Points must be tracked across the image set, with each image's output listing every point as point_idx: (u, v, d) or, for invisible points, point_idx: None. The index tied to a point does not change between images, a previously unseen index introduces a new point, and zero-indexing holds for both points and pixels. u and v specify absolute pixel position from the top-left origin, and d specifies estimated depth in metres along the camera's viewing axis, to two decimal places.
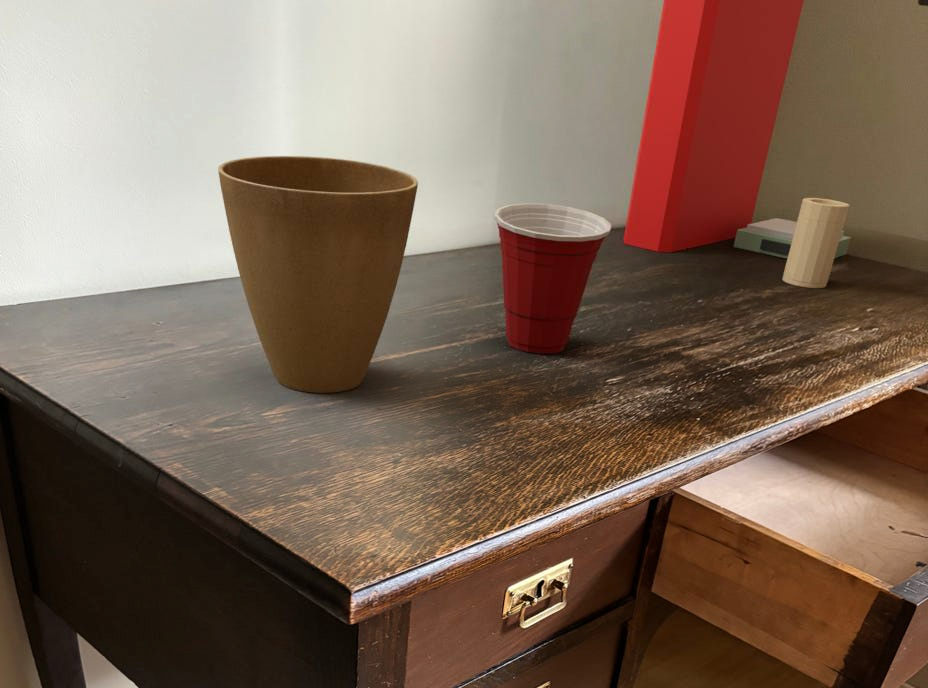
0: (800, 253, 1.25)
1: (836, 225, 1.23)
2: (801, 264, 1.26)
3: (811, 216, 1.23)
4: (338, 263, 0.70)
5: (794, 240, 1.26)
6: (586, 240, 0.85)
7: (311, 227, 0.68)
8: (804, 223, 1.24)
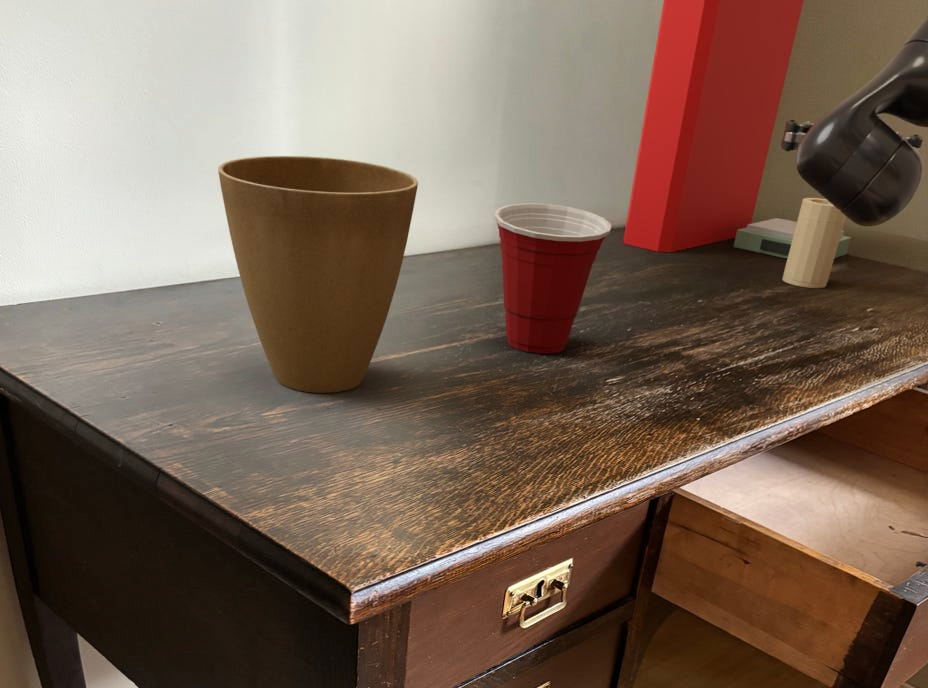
0: (800, 253, 1.25)
1: (836, 225, 1.23)
2: (801, 264, 1.26)
3: (811, 216, 1.23)
4: (338, 263, 0.70)
5: (794, 240, 1.26)
6: (586, 240, 0.85)
7: (311, 227, 0.68)
8: (804, 223, 1.24)
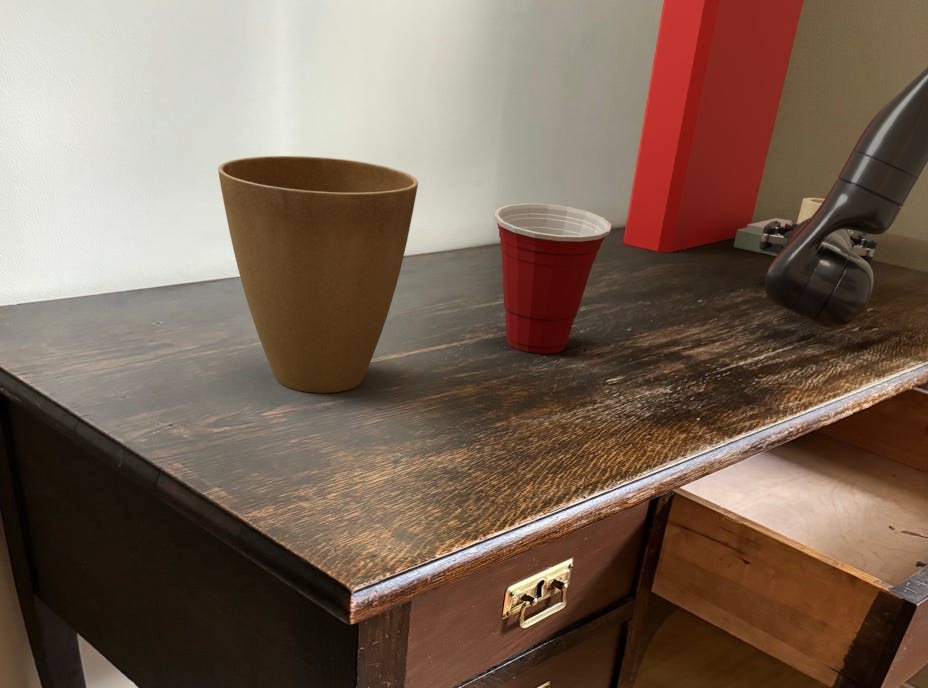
0: None
1: None
2: None
3: (811, 216, 1.23)
4: (338, 263, 0.70)
5: None
6: (586, 240, 0.85)
7: (311, 227, 0.68)
8: None
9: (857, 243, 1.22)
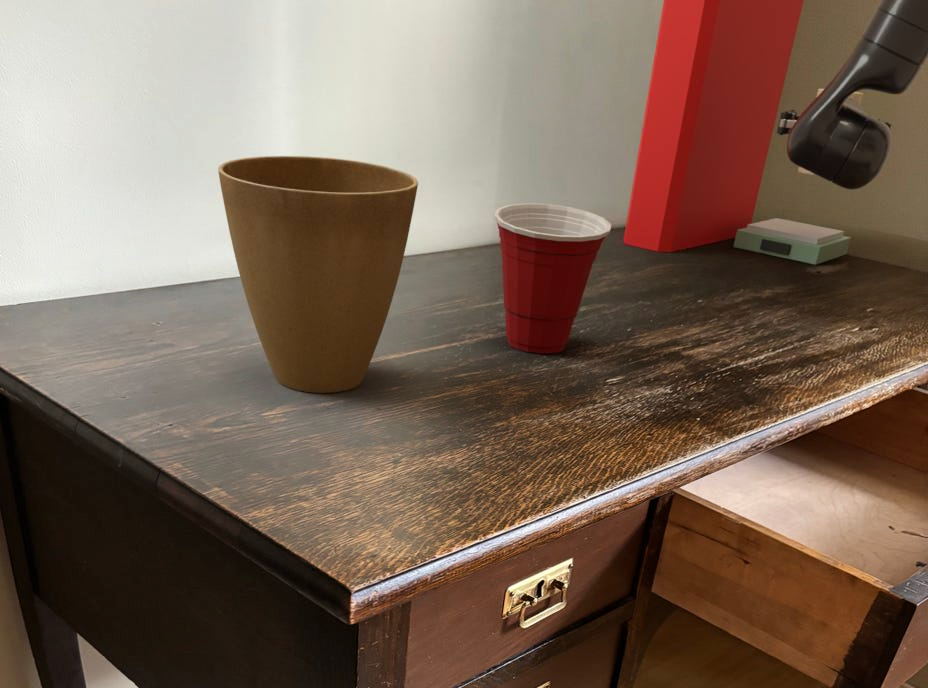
0: None
1: None
2: None
3: None
4: (338, 263, 0.70)
5: None
6: (586, 240, 0.85)
7: (311, 227, 0.68)
8: None
9: None
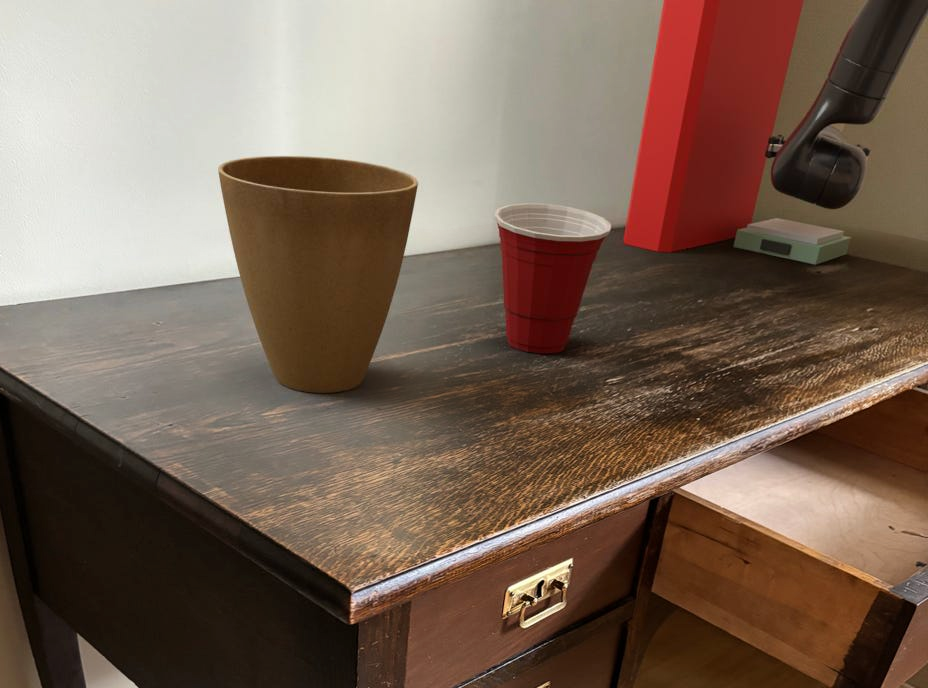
0: None
1: None
2: None
3: None
4: (338, 263, 0.70)
5: None
6: (586, 240, 0.85)
7: (311, 227, 0.68)
8: None
9: None
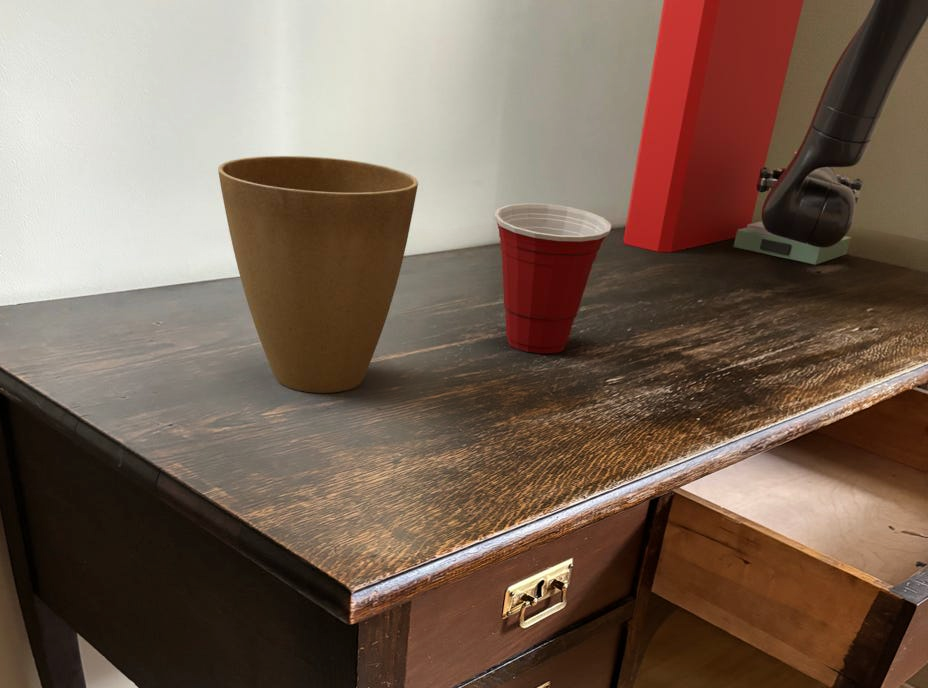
0: None
1: None
2: None
3: None
4: (338, 263, 0.70)
5: None
6: (586, 240, 0.85)
7: (311, 227, 0.68)
8: None
9: None
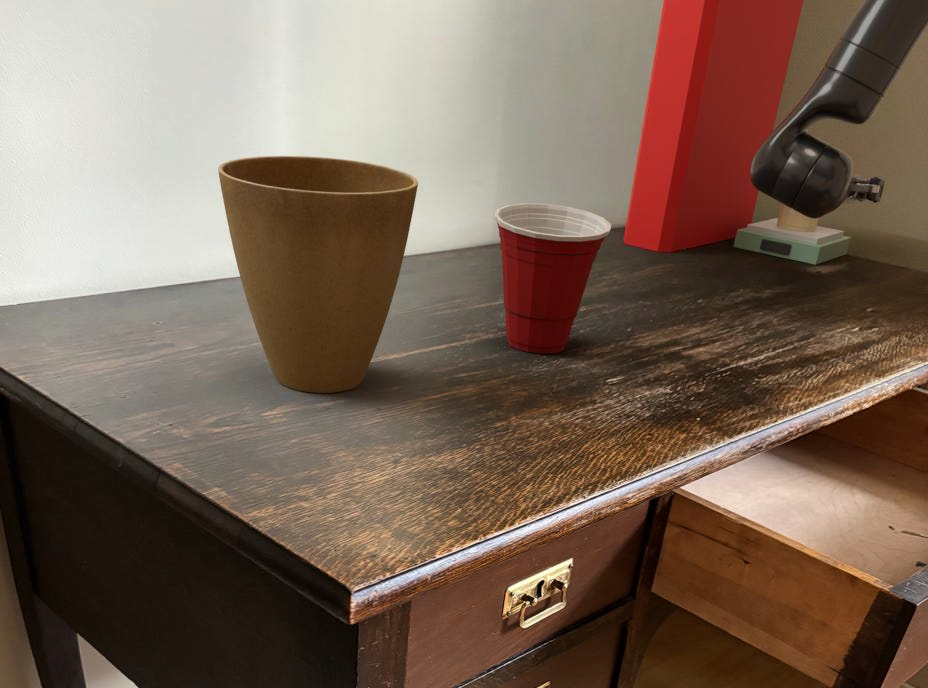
0: None
1: None
2: (793, 210, 1.42)
3: None
4: (338, 263, 0.70)
5: None
6: (586, 240, 0.85)
7: (311, 227, 0.68)
8: None
9: None
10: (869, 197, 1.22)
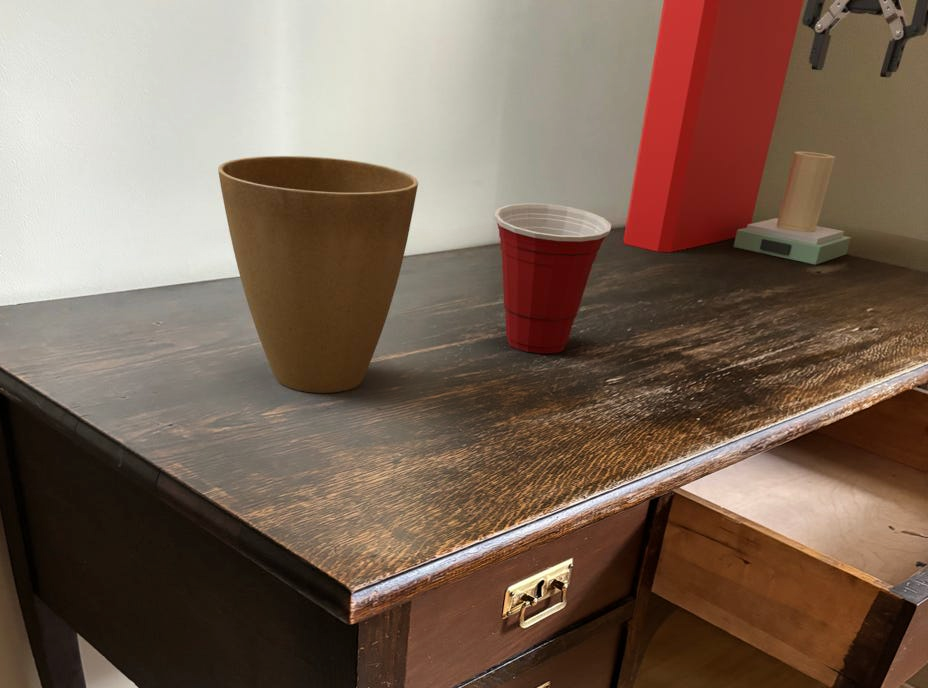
0: (792, 200, 1.42)
1: (824, 174, 1.39)
2: (793, 210, 1.42)
3: (801, 166, 1.39)
4: (338, 263, 0.70)
5: (787, 189, 1.42)
6: (586, 240, 0.85)
7: (311, 227, 0.68)
8: (795, 173, 1.40)
9: None
10: None
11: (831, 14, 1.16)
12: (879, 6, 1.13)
